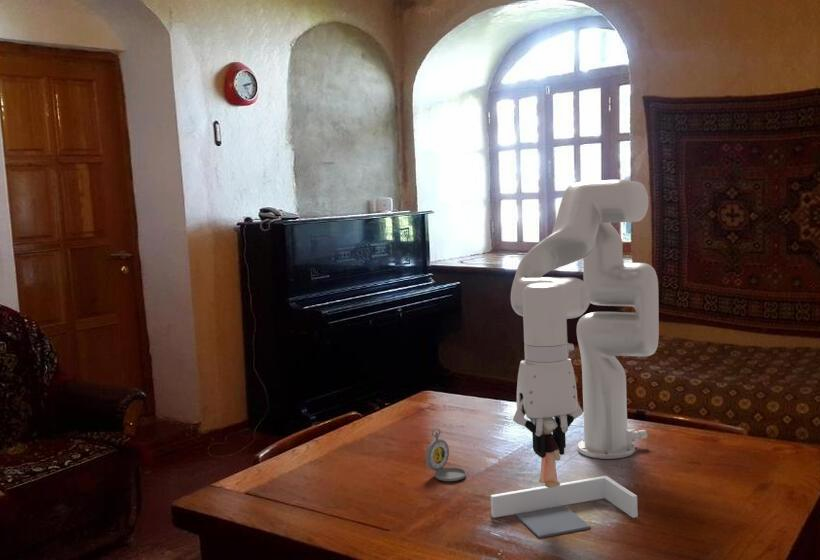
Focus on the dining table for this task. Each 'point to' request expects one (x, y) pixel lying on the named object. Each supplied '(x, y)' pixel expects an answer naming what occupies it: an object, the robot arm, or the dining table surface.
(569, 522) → the slate mat
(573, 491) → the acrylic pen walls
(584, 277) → the robot arm
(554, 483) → the grandmother figurine
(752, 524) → the dining table surface
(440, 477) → the pocket watch
